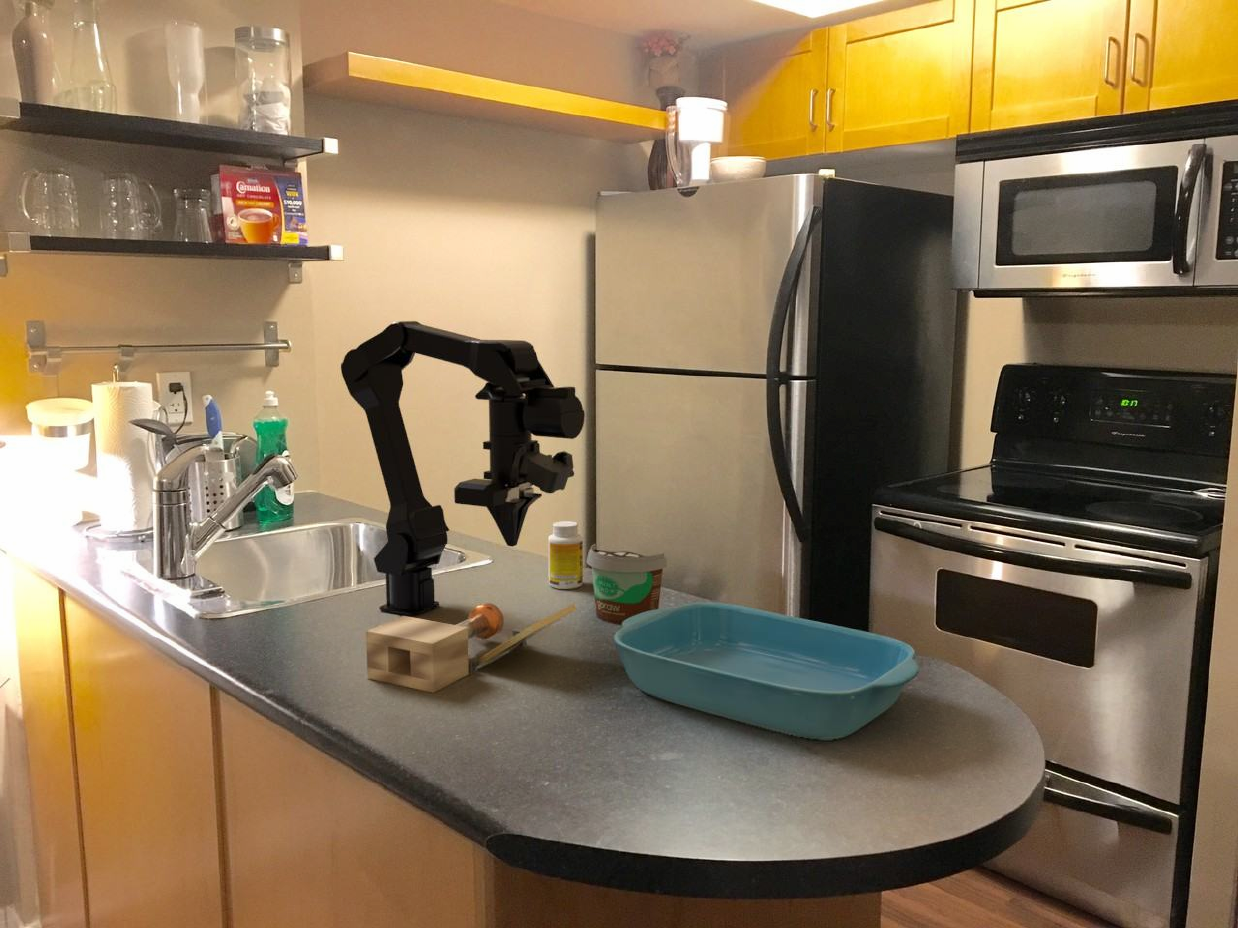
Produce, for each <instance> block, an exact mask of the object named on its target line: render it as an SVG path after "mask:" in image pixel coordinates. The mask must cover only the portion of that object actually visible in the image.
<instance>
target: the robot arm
mask: <svg viewBox="0 0 1238 928" xmlns="http://www.w3.org/2000/svg"><path fill="white" fill-rule="evenodd" d="M416 354H418V355H422V356H425V357H428V358H433V359H435V360H436V359H437V360H440V361H443V362H448V363H451V364H455V365H458V366H462V367H464V368H466V369H468V370H469V371H470V372H471V373H472V374H473V375H474V376H475V377H476V378H477V377H478V378H480V379H481V380H483V381H485V382H486V383H485V385H484V386H483V388H481V389H480V390H479V391H478V392H477V393H476V394H475V395H474V396H475V397H474V398H475V399H476V400H478V401H479V400H481V401H482V400H483V401H488V425H489V426H488V427H489V430H488V431H489V432H488V433H489V437H488V438H489V440H485V441H483V442H482V444H483V445H482V448H483V450H487V451H488V450H489V470H485V471H483V478H482V479H481V478H472V479H467V480H463V481H461V482H458V484H457V485H456V486H455V487H454V489H453V492H454V495H453V496H454V503H455V504H458V505H466V506H467V505H468V506H476V507H483V508H486V509H487V510H488V512H489V513H490V515H491V517H492V519H493V520H494V522H495V524H496V526H497V528H498V530H499V532H500V533H501V536H502V539H503V540H504V542H505V544H506V545H507V546H508V547H512V548H513V547H515V546H517V545H518V542H519V539H520V536H521V533H522V529H523V525H524V523H525V520H526V516H527V513H528V511H529V508H530V506H531V505H533V503H534V502H536V501H537V500H538V499H540V498H542V496H543V494H542V493H538V492H537V493H536V492H535V491H534V487H533V486H535V487H537V488H538V489H539V490H540V491H541V492H543V493H546V494H554V493H555V492H556V491H564V490H565V489H566V486H567V483H568V479H569V478H572V477H574V475H575V472H574V462H573V461H574V460H573V454H571V453H569V452H567V451H566V450H565V451H564V450H563V451H559V452H557V453H555V454H554V456H553V455H552V454H548V455H546V454H544V453H542V452H541V451H540V450H541V449H540V443H539V441H538V440H536V439H532V435H533V436H536V437H544V438H555V439H557V438H558V439H570V440H573V439H576V438H577V437H578V436H579V435H580V434H581V432H582V430H583V428H584V424H585V419H586V418H585V416H586V415H585V409H584V408H583V404H582V402H581V400H580V398H579V397H578V396H576V387H575V386H562V387H559V386H557V387H555V386H554V385H555V384H553V383H552V380H551V379H550V377H549V375H548V374H547V372H546V371H545V369H544V367H543V366H542V364H541V362H540V361H539V357H538V355H537V352H536V350H535V349H534V345H533V344H532V343H530V342H529V341H527V340H515V339H513V340H512V339H480V338H476V337H472V336H468V335H465V334H462V333H461V334H460V333H457V332H452V331H448V330H444V329H441V328H438V327H433V326H429V325H426V324H422V323H420V322H418V321H416V320H407V321H405V320H404V321H403V320H402V321H394V322H392V323H390V324H389V325H388V326H387V327H386V328H384V329H383V330H382V331H381V332H379V333H378V334H376V335H374V336H373V337H371V338H369V339H367V340H366V341H363V342H362V343H361V344H359V345H358V346H357V347H356V348H354V349H350V350H349V351H347V353H346V354H345V355H344V357H343V361H342V362H341V364H340V371H341V376H342V379H343V380H344V381H343V382H344V383H345V385H346V388H347V390H348V393H349V395H350V396H351V397H352V399H353V400H354V401H355V402H356V403H357V404H358V405H359V406H360V407H361V408H362V409H363V411H364V412H365V416H366V419H367V423H368V426H369V430H370V434H371V438H372V441H373V445H374V448H375V452H376V456H377V460H378V463H379V468H380V471H381V474H382V478H383V482H384V485H385V490H386V493H387V496H388V501H389V505H390V506H389V507H390V508H389V512H388V514H387V519H386V524H385V529H386V537H387V538H386V539H387V543H386V544H385V545H383V547H382V548H381V549H380V551H379V552H377V554H376V555H375V556H374V558H373V562H374V565H375V568H376V571H377V572H378V573H381V574H385V597H386V599H385V600H386V603H385V604H383V605H381V606H379V611H383V612H390V613H395V614H401V615H404V616H409V617H413V616H416V615H419V614H421V613H423V612H427V611H429V610H431V609H433V608H434V609H435V608H436V607H438V606H440V601H436V599H435V579H434V578H433V568H432V567H431V566H434V565H438V564H440V560H441V557H442V553H443V551H444V550H445V548H446V546H447V544H448V533H447V532H449V531H450V529H449V526H448V525H447V523H446V519H445V514H444V509H443V507H442V505H440V504H437V505H432V504H431V503H430V502H429V501H428V499H426V497H425V495H424V493H423V489H422V485H421V482H420V481H421V480H420V478H419V474H418V470H417V466H416V463H415V459H414V455H413V452H412V449H411V448H412V447H411V444H410V439H409V437H408V433H407V430H406V426H405V422H404V418H403V415H402V411H401V407H400V399H401V394H402V391H403V387H404V379H403V378H404V377H403V370H404V369H405V368H407V367H408V366H409V365H410V364H411V363H412V362H413V359H414V358H415V356H416Z"/></svg>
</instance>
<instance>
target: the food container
mask: <svg viewBox="0 0 1238 928" xmlns="http://www.w3.org/2000/svg"><path fill="white" fill-rule="evenodd" d="M586 563H587V565H588V566H589V567H591V572H592V585H593V593H594V606H595V615H596V618H597V619H599V620H601V621H602V622H606V623H609V624H615V625H622V622H623V621H624V620H626V619H628V618H630V617H632V616H635V615H637V614H640V613H643V612H646V611H650V610H656V609H660V607H659V606H660V595H661V587H662V580H663V579H662V578H663V569H665V568H667V567H668V564H667V558H666V556H665V552H661V553H657V554H654V555H647V556H646V555H642V554H638V553H636V552H632V551H626V550H625V551H607V550H599V549H597V546H596V543H594V544H592V545H591V546H590V549H589V550H588V554H587V558H586Z"/></svg>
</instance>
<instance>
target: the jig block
mask: <svg viewBox="0 0 1238 928" xmlns="http://www.w3.org/2000/svg"><path fill="white" fill-rule="evenodd" d="M365 641H366V642H365V643H366V644H365V645H366V666H367V667H366V670H367V672H366V673H367V674H366V675H367V679H369V680H374V681H378V682H384V683H388V684H392V685H396V686H397V685H398V686H401V687H405V688H411V689H415V690H419V691H423V692H429V693H432V694H433V693H436V692H437V691H438V692H439V690H441V689H443V688H445V687H447V686H449V685H451V684H453V683H454V682H456V681H458V680H461V679H462V678H464V677H466V676H468V675H470V674H469V665H468V655H469V639H468V627H463V626H458V625H456V624H450V623H446V622H441V621H440V622H439V621H433V620H429V619H423V618H419V617H418V618H417V617H413V616H408V615H402V616H398V617H397V618H394V619H392V620H389V621H386V622H385V623H382V624H380V625H377V626H375V627H372V628H370V629H368V630H366V631H365Z"/></svg>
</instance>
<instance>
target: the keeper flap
mask: <svg viewBox="0 0 1238 928" xmlns="http://www.w3.org/2000/svg"><path fill="white" fill-rule="evenodd" d="M576 610H577V607H576V605H575V604H574V603H573V604H570V605H568V606H566V607H565V608H562V609H560V610H558V611H557V612H554V613H552V614H551V615H548V616H547V617H545V618H542V619H540V620H539V621H537V622H535V623H533V624H531V625H529V626H528V627H526V628H524V629H522V630H523V631H521V632H520V633H518V634H517V635H515V636H513V635H512V637H510V638H508V639H507V640H506V641H504V642H502V643H501V644H499V645H497V646H496V647H494V648H493V649H491V650H490V651H488V652H486V653H485V654H483V655H482V656H480V657H478V658H476V668H478V667H480V666H482V665H484V664H486V663H488V662H489V661H492V660H493V659H496V658H497V657H499V656H501V655H503V654H505V653H507V652H509V651H510V650H513V649H514V648H516V647H519V646H518V645H520V644H521V643H523V642H525V641H526V640H527V641H528V640H530V639H531V638H533V637H534V636H536V635H538V634H539V633H540V632H543V630H545V629H547V628H549V627H551V626H552V625H554V624H555V623H557V622H559V621H560V620H562V619H563V618H565V617H567V616H568V615H570V614H571V613H573V612H575V611H576Z"/></svg>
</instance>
